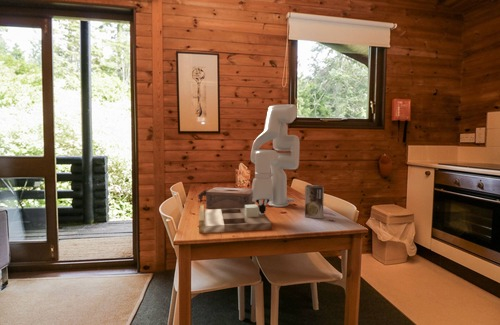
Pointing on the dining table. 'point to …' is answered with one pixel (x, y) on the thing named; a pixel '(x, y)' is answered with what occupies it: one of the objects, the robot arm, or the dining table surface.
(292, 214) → the dining table surface
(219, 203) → the tissue box cover
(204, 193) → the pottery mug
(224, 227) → the box
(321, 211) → the coffee box
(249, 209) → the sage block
